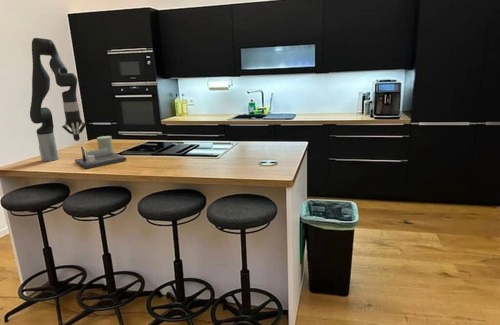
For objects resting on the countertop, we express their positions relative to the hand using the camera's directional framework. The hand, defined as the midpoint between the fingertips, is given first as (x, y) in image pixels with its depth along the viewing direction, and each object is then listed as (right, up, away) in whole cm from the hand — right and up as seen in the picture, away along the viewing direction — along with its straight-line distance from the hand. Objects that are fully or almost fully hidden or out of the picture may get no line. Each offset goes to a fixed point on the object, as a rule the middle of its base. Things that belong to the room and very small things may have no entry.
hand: (77, 140), depth 202 cm
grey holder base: (+7, -12, +16) cm, 22 cm away
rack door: (+3, -9, +20) cm, 22 cm away
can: (+2, -7, +36) cm, 37 cm away
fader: (+5, -12, +8) cm, 15 cm away
